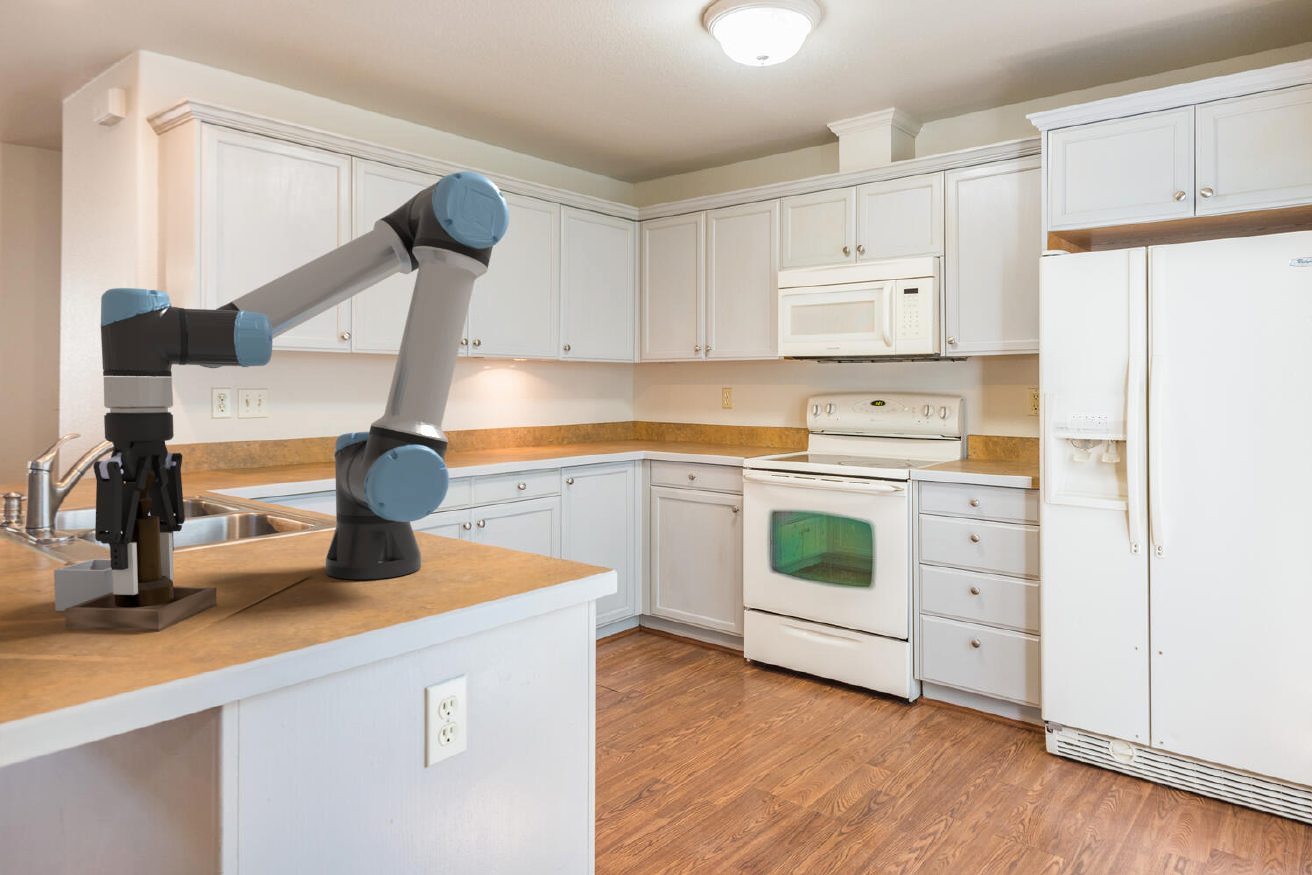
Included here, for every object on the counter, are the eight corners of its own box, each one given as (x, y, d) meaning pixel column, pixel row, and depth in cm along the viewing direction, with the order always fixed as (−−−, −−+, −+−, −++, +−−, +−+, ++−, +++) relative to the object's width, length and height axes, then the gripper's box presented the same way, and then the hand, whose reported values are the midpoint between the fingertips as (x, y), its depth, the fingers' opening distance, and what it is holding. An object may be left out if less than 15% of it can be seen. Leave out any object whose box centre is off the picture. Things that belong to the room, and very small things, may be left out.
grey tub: (141, 601, 116) (140, 559, 116) (105, 615, 109) (104, 571, 109) (94, 600, 116) (93, 558, 116) (55, 614, 109) (54, 569, 109)
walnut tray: (216, 608, 113) (216, 587, 113) (159, 635, 101) (158, 611, 101) (133, 606, 113) (132, 585, 113) (65, 632, 101) (65, 608, 101)
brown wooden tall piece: (133, 595, 110) (128, 462, 109) (183, 594, 111) (179, 462, 109) (103, 608, 103) (99, 467, 102) (157, 608, 104) (153, 467, 103)
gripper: (160, 408, 115) (165, 569, 117) (51, 412, 96) (59, 606, 97) (212, 408, 115) (216, 570, 116) (113, 413, 95) (119, 607, 97)
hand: (144, 586), depth 107 cm, fingers closed on brown wooden tall piece, 6 cm apart
